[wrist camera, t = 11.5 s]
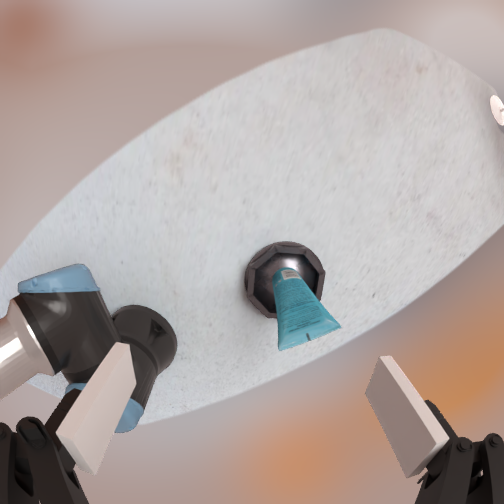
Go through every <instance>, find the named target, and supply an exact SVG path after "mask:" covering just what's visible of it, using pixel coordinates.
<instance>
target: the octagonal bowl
mask: <svg viewBox="0 0 504 504" xmlns="http://www.w3.org/2000/svg"><path fill="white" fill-rule="evenodd" d="M284 267H290V268H293V269H295V270H296V271H297V272H298V274H299V275H300V276H301V278H302V279H303V280H304V282H305V283H306V284H307V286H308V287H309V288H310V290H311V291H312V292H313V294H314V295H315V296H316V298H317V299H318V300H319V301H320V300H321V296H322V290H323V285H324V278H325V271H324V269H323V267H322V264H321V262H320V260H319V259H318V257H317V256H316V255H315V254H314V253H313V252H312V251H311V250H310V249H309V248H307V247H306V246H304V245H301V244H299V243H295V242H288V241H284V242H277V243H273V244H271V245H268V246H266V247H265V248H263V249H262V250H260V251H259V252H258V253H257V254H256V255H255V256H254V257H253V258H252V260H251V262H250V263H249V265H248V268H247V271H246V276H245V287H246V291H247V298H248V299H249V300H250V301H251V302H252V303H253V304H254V306H255V307H256V308H258V309H259V310H260V311H261V312H262V313H263V314H264V315H265V316H266V317H267V318H277V311H276V303H275V297H274V291H273V285H272V278H273V275H274V274H275V272H276V271H277V270H279V269H281V268H284Z"/></svg>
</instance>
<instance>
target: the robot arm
mask: <svg viewBox="0 0 504 504" xmlns="http://www.w3.org/2000/svg"><path fill="white" fill-rule="evenodd" d="M18 292H19V293H20V294H19V295H18V296H16V297H14V298H13V299H11V300H10V303H9V307H8V311H7V314H6V316H5V317H3V318H1V319H0V400H1V399H3V398H4V397H6V396H7V395H8V394H10V393H11V392H12V391H14V390H15V389H16V388H18V387H19V386H21V385H22V384H23V383H25V382H26V381H28V380H29V379H30V378H32V377H33V376H34V375H36V374H37V373H43V374H46V375H50V376H54V375H56V374H57V373H58V372H60V371H61V372H62V373H63V375H64V376H65V378H66V379H67V381H68V382H69V385H68V386H67V387H66V392H65V396H64V397H63V399H62V400H61V403H59V405H58V406H57V408H56V409H55V410H54V412H53V413H52V415H51V416H50V418H49V419H48V421H47V422H46V424H45V425H43V423H42V422H41V421H40V420H39V419H38V418H35V417H25V418H22V419H21V420H20V421H19V422H18V424H17V425H16V431H17V433H15V432H12V430H11V429H10V428H9V426H8V425H6V424H5V423H2V422H1V423H0V504H39V500H40V503H41V504H89V503H88V501H87V498H86V497H85V494H84V492H83V490H82V488H81V485H80V483H79V481H78V478H77V476H76V473H75V471H74V470H73V468H74V466H75V464H77V466H78V467H79V468H80V470H82V471H85V472H87V473H90V474H93V475H96V474H97V471H98V469H99V466H100V464H101V462H102V459H103V457H104V455H105V452H106V450H107V448H108V445H109V443H110V441H111V438H112V436H113V434H114V433H124V432H128V431H131V430H132V429H134V428H135V427H136V425H137V423H138V421H139V419H140V417H141V416H142V415H143V413H144V409H145V406H146V404H147V401H148V398H149V395H150V393H151V390H152V387H153V385H154V382H155V379H156V377H157V376H158V375H159V374H160V373H161V372H162V371H163V370H164V369H166V368H167V367H168V366H169V365H170V364H171V363H172V361H173V359H174V356H175V354H176V351H177V338H176V335H175V333H174V330H173V329H172V327H171V325H170V324H169V323H168V322H167V320H166V319H165V318H163V317H162V316H161V315H160V314H158V313H157V312H155V311H154V310H152V309H149V308H147V307H144V306H139V305H129V306H125V307H122V308H120V309H119V310H117V311H116V312H115V313H114V314H113V316H112V317H111V315H110V313H109V311H108V309H107V307H106V304H105V302H104V300H103V298H102V295H101V293H100V288H99V287H97V285H96V283H95V281H94V279H93V276H92V274H91V272H90V270H89V269H88V267H86V266H85V265H83V264H74V265H70V266H67V267H63V268H60V269H57V270H54V271H51V272H48V273H44V274H41V275H38V276H35V277H33V278H30V279H27V280H24V281H21V282H19V283H18ZM365 394H366V396H367V398H368V400H369V402H370V404H371V406H372V408H373V410H374V412H375V414H376V416H377V418H378V420H379V422H380V424H381V426H382V428H383V430H384V432H385V434H386V436H387V438H388V440H389V442H390V444H391V446H392V448H393V451H394V453H395V455H396V457H397V459H398V461H399V463H400V465H401V467H402V470H403V471H404V474H405V476H406V478H409V477H412V476H415V475H417V474H420V473H421V471H422V470H423V469H424V468H425V467H426V468H427V470H428V472H426V473H425V475H424V476H423V477H422V478H421V479H420V480H419V481H418V484H419V483H420V482H421V481H422V480H423V479H424V480H423V483H422V485H421V488H420V491H419V494H418V497H417V499H416V502H415V504H504V442H503V440H502V438H501V437H500V436H499V435H498V434H495V433H492V434H488V435H487V436H486V438H485V439H484V440H483V441H480V442H472V441H470V440H469V439H467V438H465V437H458V436H457V435H456V434H455V432H454V431H453V429H452V428H451V426H450V425H449V424H448V422H447V421H446V419H444V417H443V415H442V414H441V413H440V411H439V410H438V408H437V407H436V405H434V404H433V403H432V402H430V401H429V400H425V401H424V400H423V399H422V398H421V396H420V395H419V394H418V392H417V391H416V389H415V388H414V386H412V384H411V382H410V381H409V380H408V378H407V377H406V375H405V374H404V373H403V371H402V370H401V369H400V367H399V366H398V365H397V363H396V362H395V361H394V359H393V358H392V357H391V356H380V357H379V358H378V361H377V364H376V367H375V369H374V372H373V374H372V377H371V379H370V382H369V385H368V387H367V389H366V392H365ZM482 470H483V475H482V476H481V473H480V472H481V471H482Z"/></svg>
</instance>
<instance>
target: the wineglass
mask: <svg viewBox="0 0 504 504" xmlns="http://www.w3.org/2000/svg"><path fill="white" fill-rule="evenodd" d="M490 106H491V110H492V113H493V116H494V117H495V119H496V121H497V122H498V123H499V124H500V125H504V106H503V103H502V102H501V100H500V99H499V98H498V97H497V96H492V97H491V99H490Z"/></svg>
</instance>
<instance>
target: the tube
mask: <svg viewBox="0 0 504 504" xmlns="http://www.w3.org/2000/svg"><path fill="white" fill-rule="evenodd" d="M272 285H273V291H274V297H275V303H276V311H277V321H278V349H279V351H282V350H285V349H288V348H291V347H294V346H297V345H300V344H303V343H305V342H308V341H311V340H313V339H316V338H319V337H321V336H324V335H326V334H328V333H330V332H332V331H335V330H337V329H340V328H341V326H340V324H339V323H338V322H337V321H336V320H335V319H334V318H333V317H332V316H331V315H330V314H329V312H328V311H327V310H326V309H325V308H324V306H323V305H322V304H321V303H320V301H319V300H318V299H317V298H316V296H315V295H314V294H313V292H312V291H311V290H310V288H309V287H308V286H307V284H306V283H305V282H304V280H303V279H302V278H301V276H300V275H299V274H298V272H297V271H296V270H295V269H293V268H290V267H284V268H281V269H279V270H277V271H276V272H275V274H274V275H273V278H272Z"/></svg>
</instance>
